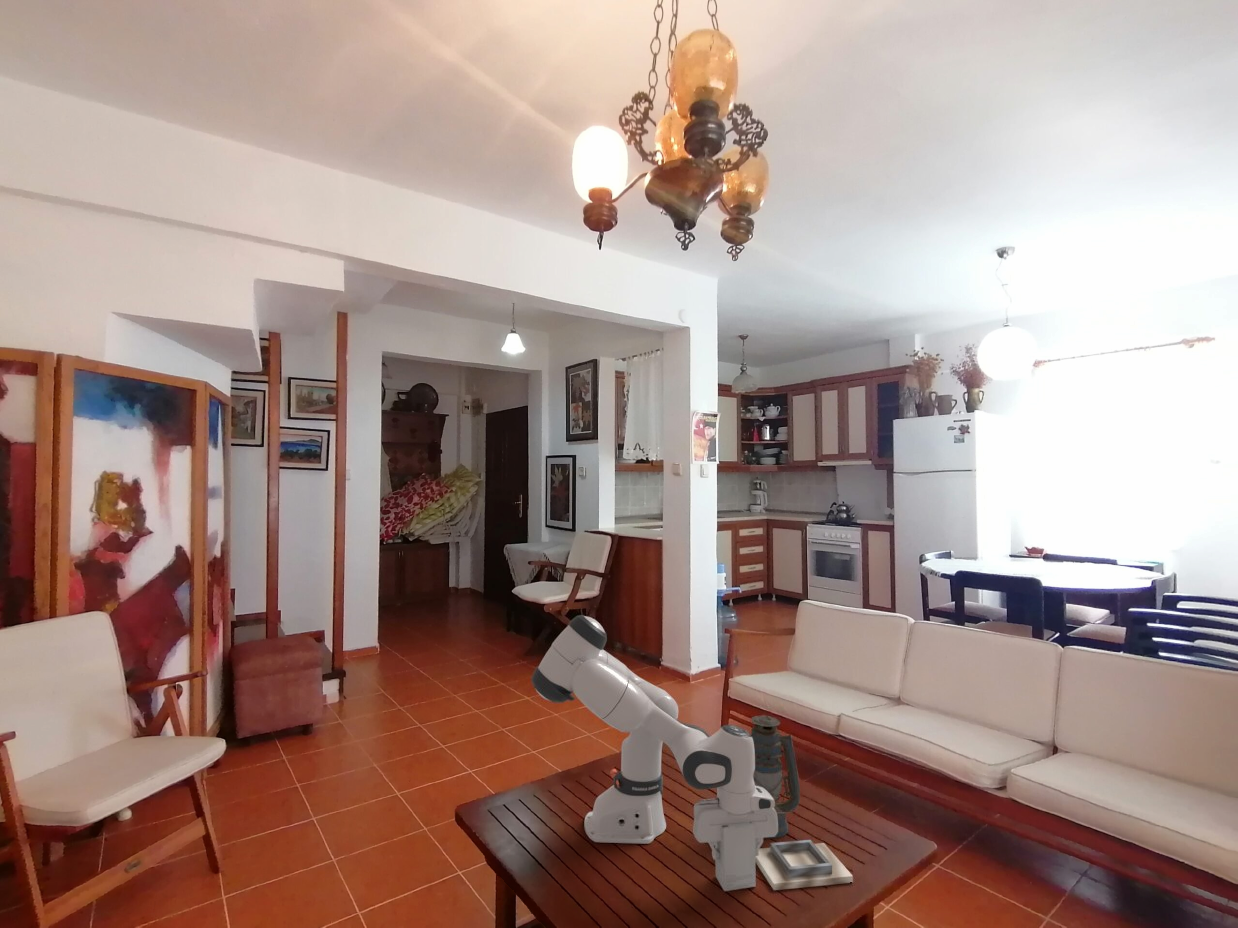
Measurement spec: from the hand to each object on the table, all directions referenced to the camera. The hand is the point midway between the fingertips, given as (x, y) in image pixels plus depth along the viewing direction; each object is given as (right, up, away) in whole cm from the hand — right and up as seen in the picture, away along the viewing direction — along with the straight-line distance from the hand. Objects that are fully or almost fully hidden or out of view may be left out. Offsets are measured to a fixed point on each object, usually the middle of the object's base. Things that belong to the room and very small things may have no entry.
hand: (735, 856), depth 149 cm
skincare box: (0, -6, 0) cm, 6 cm away
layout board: (+17, -7, +6) cm, 19 cm away
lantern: (+13, -8, +24) cm, 29 cm away
